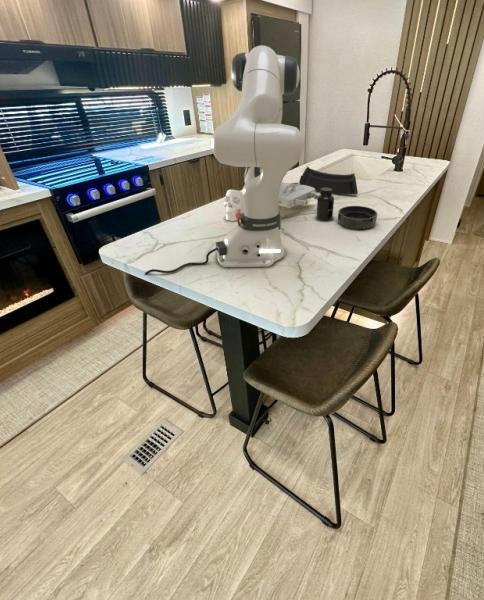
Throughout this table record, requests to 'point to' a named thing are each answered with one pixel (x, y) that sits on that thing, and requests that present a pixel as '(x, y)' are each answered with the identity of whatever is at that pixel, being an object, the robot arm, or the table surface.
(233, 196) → the skull bowl
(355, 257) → the table surface
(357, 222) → the bowl
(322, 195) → the supplement bottle
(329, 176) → the magazine
